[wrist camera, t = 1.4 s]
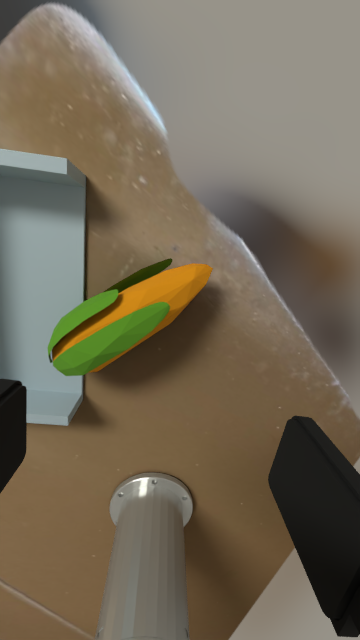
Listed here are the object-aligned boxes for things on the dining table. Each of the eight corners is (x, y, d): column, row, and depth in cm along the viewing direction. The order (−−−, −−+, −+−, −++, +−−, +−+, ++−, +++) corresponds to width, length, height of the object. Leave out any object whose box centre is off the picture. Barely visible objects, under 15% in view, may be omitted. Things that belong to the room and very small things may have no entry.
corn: (9, 354, 22) (199, 230, 20) (43, 324, 29) (186, 231, 27) (65, 409, 24) (238, 302, 23) (84, 369, 31) (217, 286, 30)
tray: (82, 399, 33) (67, 425, 28) (-15, 392, 32) (-47, 417, 27) (86, 175, 26) (66, 158, 21) (-39, 158, 25) (-90, 135, 20)
